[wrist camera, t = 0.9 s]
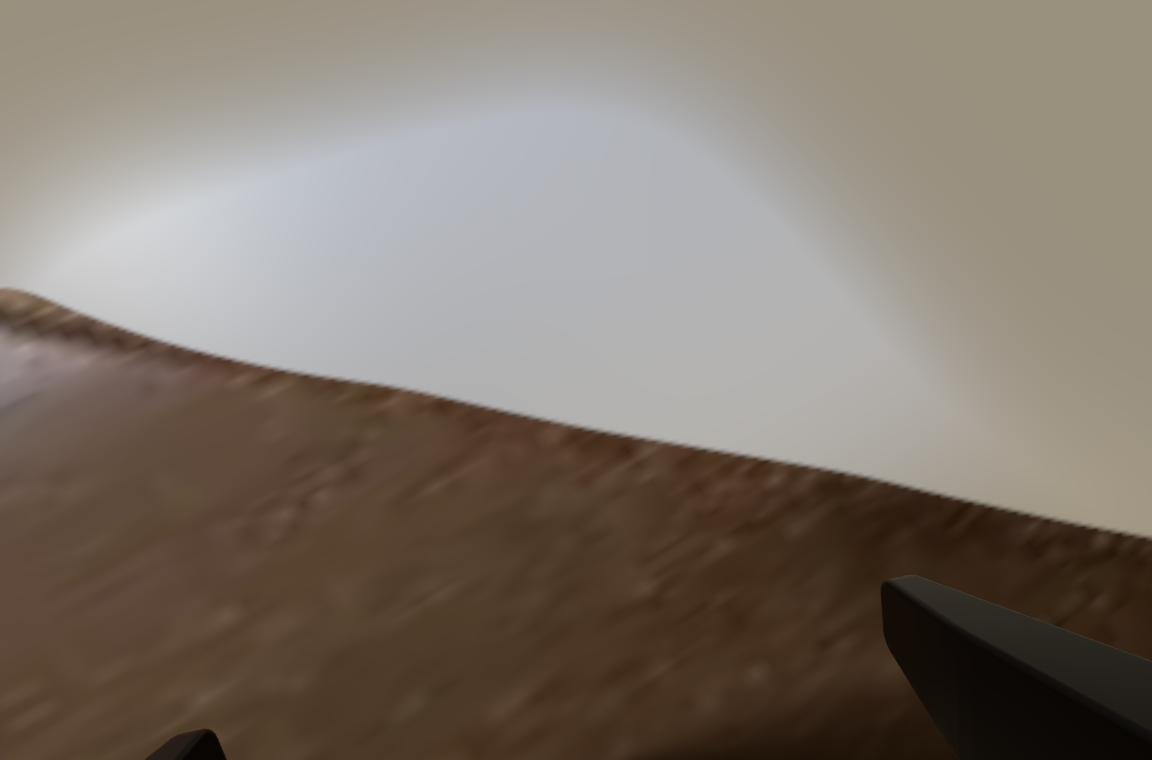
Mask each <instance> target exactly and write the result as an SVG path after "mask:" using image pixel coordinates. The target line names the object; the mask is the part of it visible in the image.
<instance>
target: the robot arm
mask: <svg viewBox="0 0 1152 760" xmlns="http://www.w3.org/2000/svg"><path fill="white" fill-rule="evenodd" d="M881 604H882V618H883V631H884V637H885V640H886V643H887V645H888V648H889V650H890V652H891V653H892V655H893V657H894V658H895V660H896V661H897V663H898V665H899V666H900V668H901V669H902V671H903V673H904V674H905V676H906V678H907V679H908V681H909V682H910V684H911V686H912V687H913V689H914V691H915V692H916V694H917V695H918V697H919V699H920V700H921V702H922V703H923V705H924V707H925V708H926V710H927V712H928V713H929V715H930V716H931V718H932V720H933V721H934V723H935V725H936V726H937V728H938V729H939V731H940V733H941V734H942V736H943V737H944V739H945V741H946V742H947V744H948V745H949V747H950V748H951V750H952V752H953V753H954V755H955V756H956V758H957V759H958V760H1152V661H1151V660H1148V659H1145V658H1142V657H1140V656H1137V655H1134V654H1131V653H1129V652H1126V651H1123V650H1120V649H1118V648H1115V647H1112V646H1109V645H1107V644H1104V643H1101V642H1099V641H1096V640H1093V639H1090V638H1088V637H1085V636H1082V635H1079V634H1077V633H1074V632H1071V631H1068V630H1066V629H1063V628H1060V627H1057V626H1055V625H1052V624H1049V623H1046V622H1044V621H1041V620H1038V619H1035V618H1033V617H1030V616H1027V615H1024V614H1022V613H1019V612H1016V611H1013V610H1011V609H1008V608H1005V607H1002V606H1000V605H997V604H994V603H991V602H989V601H986V600H983V599H980V598H978V597H975V596H972V595H969V594H967V593H964V592H961V591H958V590H956V589H953V588H950V587H948V586H945V585H942V584H939V583H937V582H934V581H931V580H928V579H926V578H923V577H920V576H917V575H912V574H909V575H904V576H900V577H895V578H891V579H887V580H885V581H884V582H883V583H882V586H881ZM145 760H227V759H226V757H225V754H224V752H223V750H222V747H221V745H220V742H219V740H218V738H217V736H216V734H215V733H214V732H213V731H212V730H210V729H201V730H196V731H192V732H187V733H183V734H179V735H177V736H175V737H173V738H172V739H170V740H169V741H168V742H166V743H165V744H164V745H162V746H161V747H160V748H159V749H157V750H156V751H155V752H154V753H152V754H151V755H150V756H149V757H147V758H146V759H145Z"/></svg>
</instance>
